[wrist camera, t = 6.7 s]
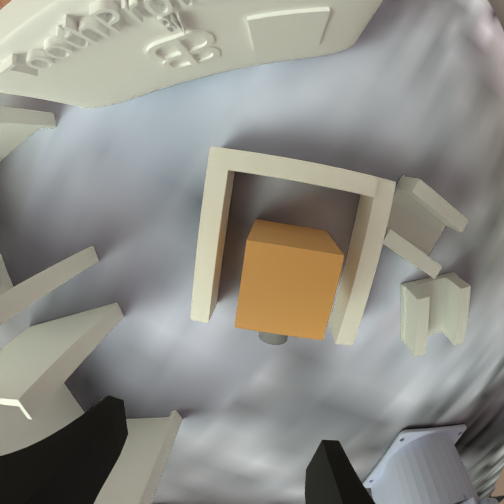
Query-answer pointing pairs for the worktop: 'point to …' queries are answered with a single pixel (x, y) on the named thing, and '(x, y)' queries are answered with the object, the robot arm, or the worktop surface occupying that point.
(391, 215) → the clip
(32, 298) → the white slotted rack
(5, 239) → the worktop surface
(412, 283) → the clip
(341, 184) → the frame
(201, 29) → the cable organizer
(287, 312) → the orange block
